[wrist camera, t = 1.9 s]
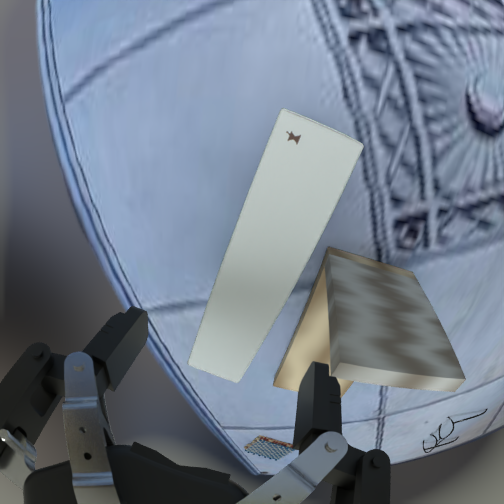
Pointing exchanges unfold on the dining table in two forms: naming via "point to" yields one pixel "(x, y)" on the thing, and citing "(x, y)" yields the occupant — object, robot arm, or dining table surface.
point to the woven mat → (269, 448)
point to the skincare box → (272, 240)
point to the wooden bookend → (370, 330)
